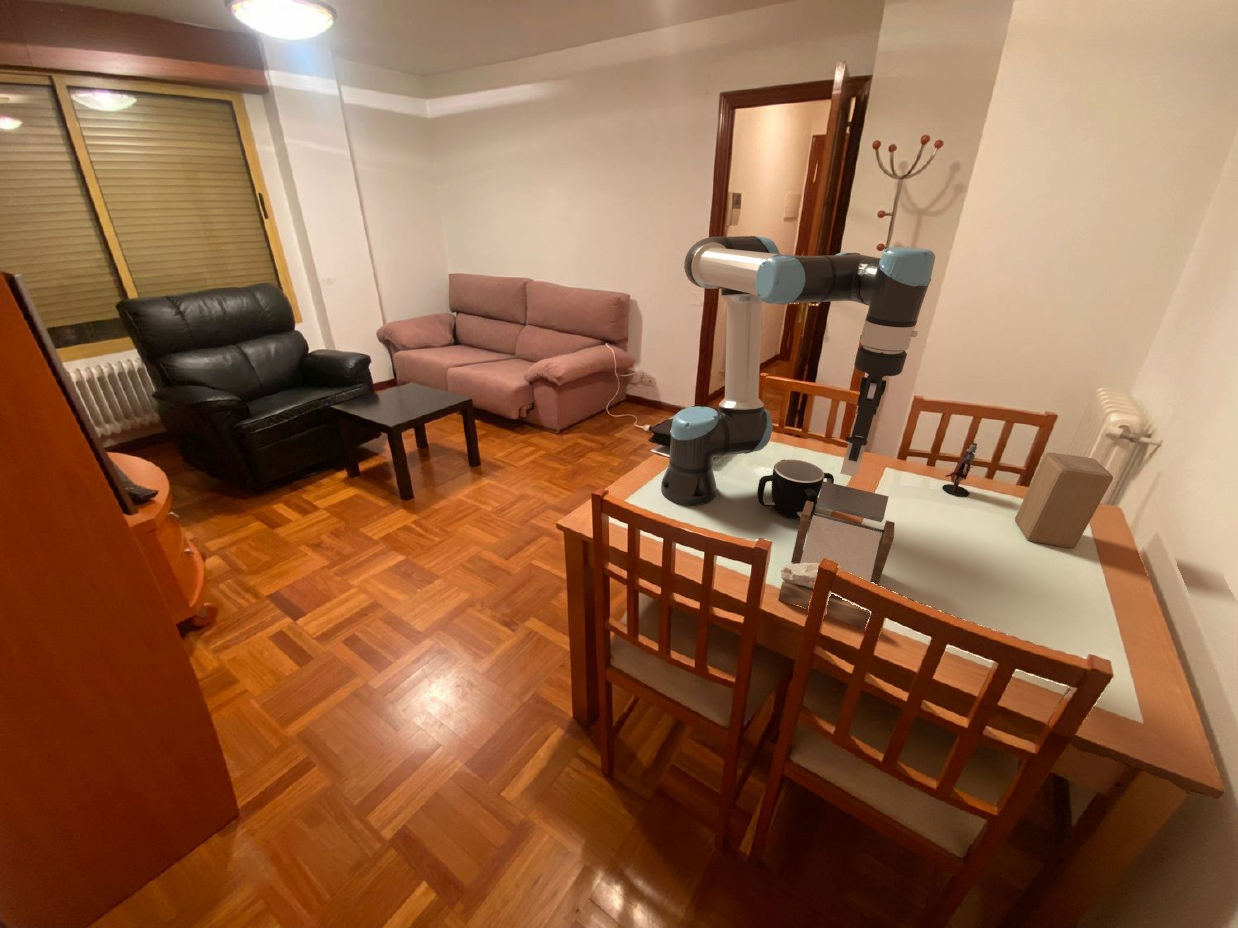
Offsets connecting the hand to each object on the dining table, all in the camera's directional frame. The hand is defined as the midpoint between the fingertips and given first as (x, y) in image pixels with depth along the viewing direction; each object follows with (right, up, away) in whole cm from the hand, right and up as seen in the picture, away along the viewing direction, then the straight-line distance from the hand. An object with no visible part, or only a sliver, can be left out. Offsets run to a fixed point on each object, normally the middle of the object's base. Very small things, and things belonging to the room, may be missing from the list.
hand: (852, 459), depth 94 cm
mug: (+1, -13, +37) cm, 39 cm away
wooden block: (+60, -19, +29) cm, 69 cm away
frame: (0, -27, +11) cm, 29 cm away
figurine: (+51, -9, +47) cm, 70 cm away
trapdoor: (+4, -16, +12) cm, 21 cm away
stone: (-3, -23, +9) cm, 25 cm away
